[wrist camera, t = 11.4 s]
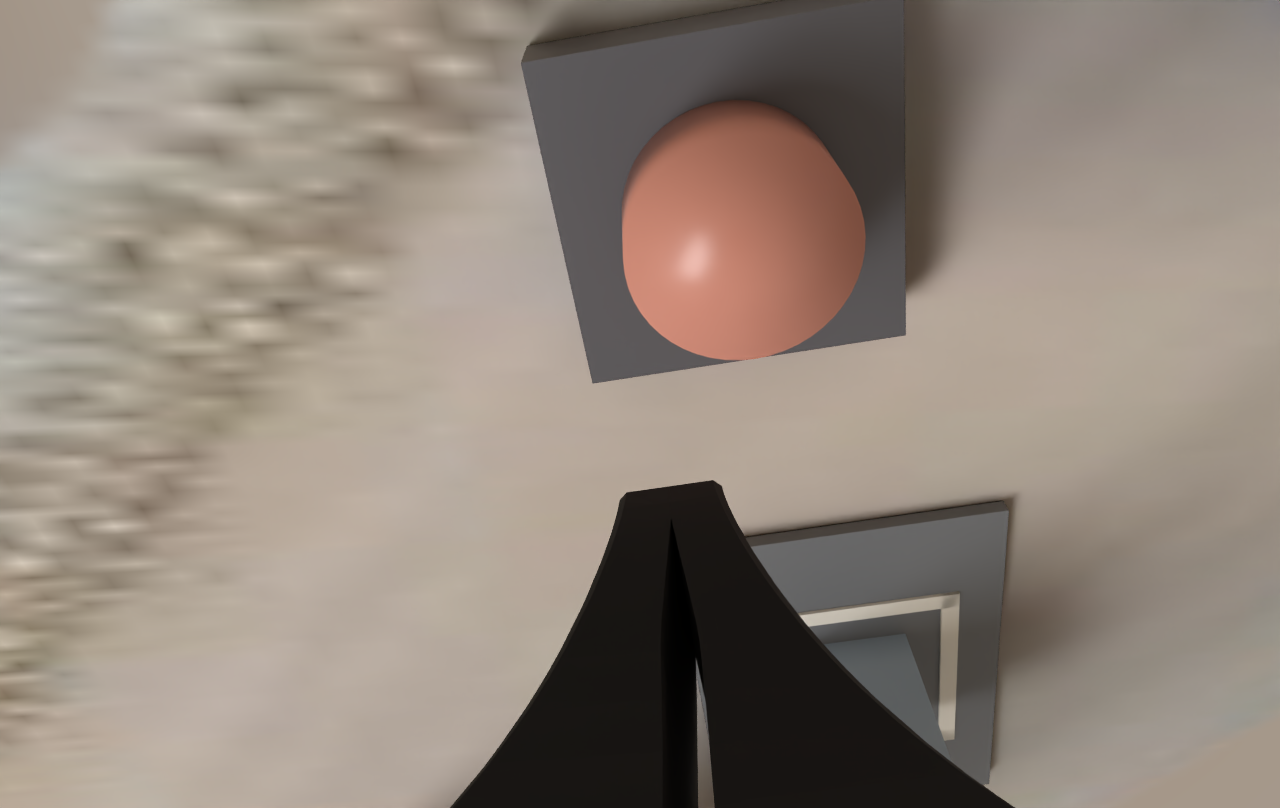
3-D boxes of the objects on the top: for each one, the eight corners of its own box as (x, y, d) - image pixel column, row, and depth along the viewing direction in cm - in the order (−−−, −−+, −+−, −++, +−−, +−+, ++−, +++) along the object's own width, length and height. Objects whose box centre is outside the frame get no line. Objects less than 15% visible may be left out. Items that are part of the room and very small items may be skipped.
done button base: (593, 351, 22) (592, 383, 21) (527, 46, 18) (520, 63, 17) (888, 304, 21) (905, 335, 20) (882, -18, 18) (903, -5, 16)
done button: (640, 323, 20) (643, 375, 18) (603, 120, 17) (602, 157, 16) (844, 291, 19) (869, 341, 18) (834, 81, 17) (861, 113, 15)
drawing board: (722, 805, 32) (723, 818, 31) (673, 547, 25) (674, 560, 25) (984, 773, 31) (989, 786, 31) (1003, 500, 25) (1010, 512, 24)
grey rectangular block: (793, 725, 29) (849, 1001, 22) (785, 649, 27) (844, 925, 20) (905, 711, 29) (995, 985, 22) (905, 633, 27) (1005, 908, 20)
